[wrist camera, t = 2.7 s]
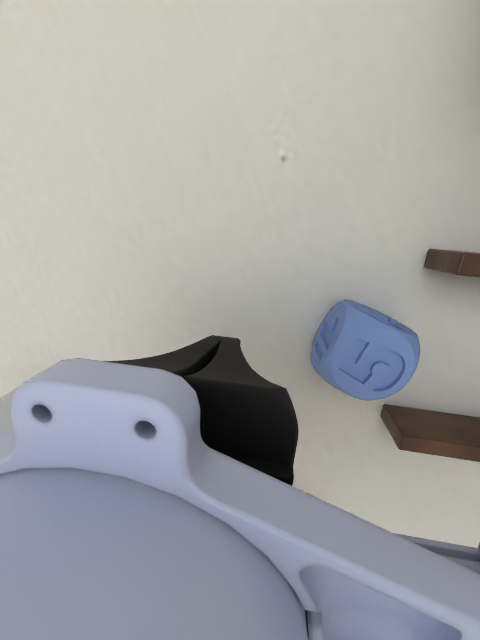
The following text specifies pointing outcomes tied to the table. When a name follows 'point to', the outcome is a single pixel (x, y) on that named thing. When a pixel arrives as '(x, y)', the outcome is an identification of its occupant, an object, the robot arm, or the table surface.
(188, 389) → the robot arm
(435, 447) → the walnut bay
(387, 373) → the decorative dice
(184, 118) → the table surface
